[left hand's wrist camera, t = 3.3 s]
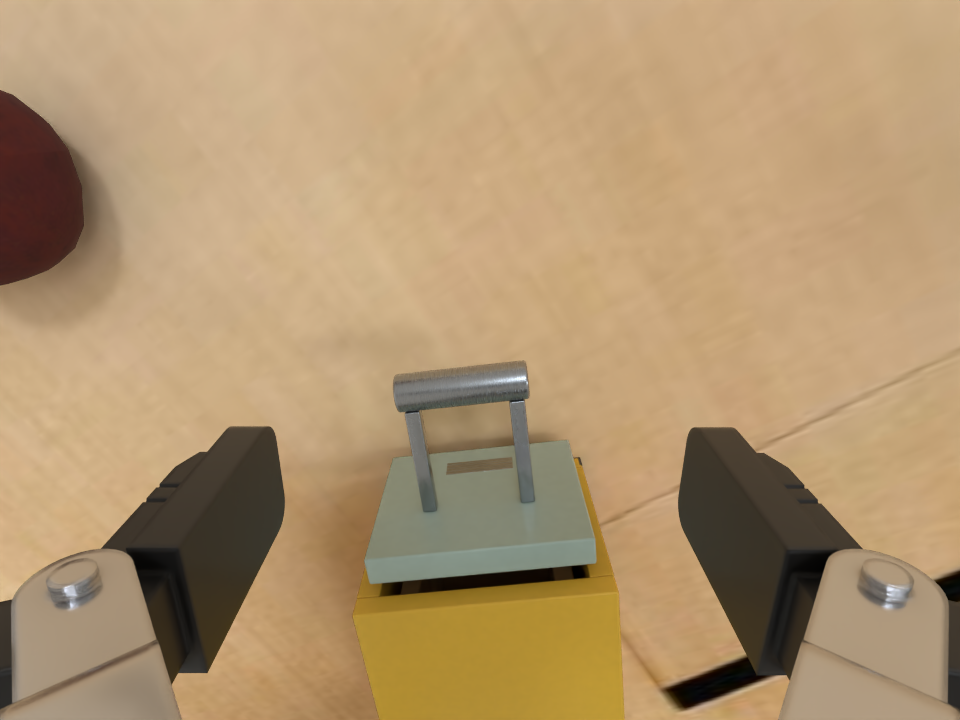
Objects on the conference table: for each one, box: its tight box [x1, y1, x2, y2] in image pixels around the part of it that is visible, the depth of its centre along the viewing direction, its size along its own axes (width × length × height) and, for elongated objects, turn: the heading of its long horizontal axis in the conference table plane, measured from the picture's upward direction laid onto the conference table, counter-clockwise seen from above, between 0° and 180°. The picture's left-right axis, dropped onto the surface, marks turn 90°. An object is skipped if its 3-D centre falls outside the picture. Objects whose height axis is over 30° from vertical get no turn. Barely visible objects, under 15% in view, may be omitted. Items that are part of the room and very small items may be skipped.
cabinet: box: [352, 457, 624, 720], centre depth 29 cm, size 18×10×9 cm, turn 7°
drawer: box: [364, 361, 597, 595], centre depth 27 cm, size 23×9×8 cm, turn 7°
